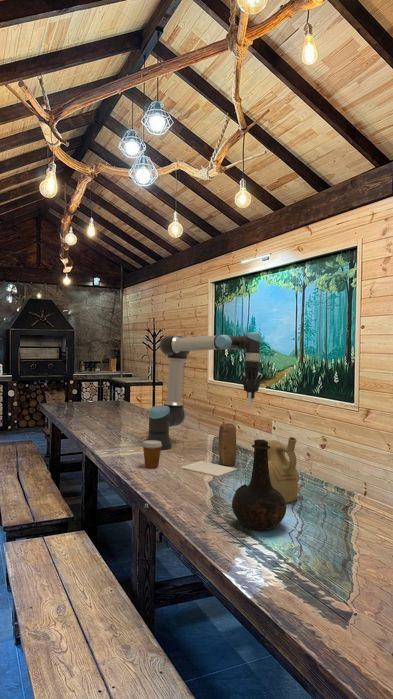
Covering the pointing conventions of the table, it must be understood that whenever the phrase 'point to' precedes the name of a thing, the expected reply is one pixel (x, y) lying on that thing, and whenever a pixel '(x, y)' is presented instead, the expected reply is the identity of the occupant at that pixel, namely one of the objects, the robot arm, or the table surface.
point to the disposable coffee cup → (152, 453)
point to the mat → (209, 468)
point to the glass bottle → (259, 495)
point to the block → (227, 444)
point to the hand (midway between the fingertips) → (250, 404)
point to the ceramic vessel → (283, 469)
